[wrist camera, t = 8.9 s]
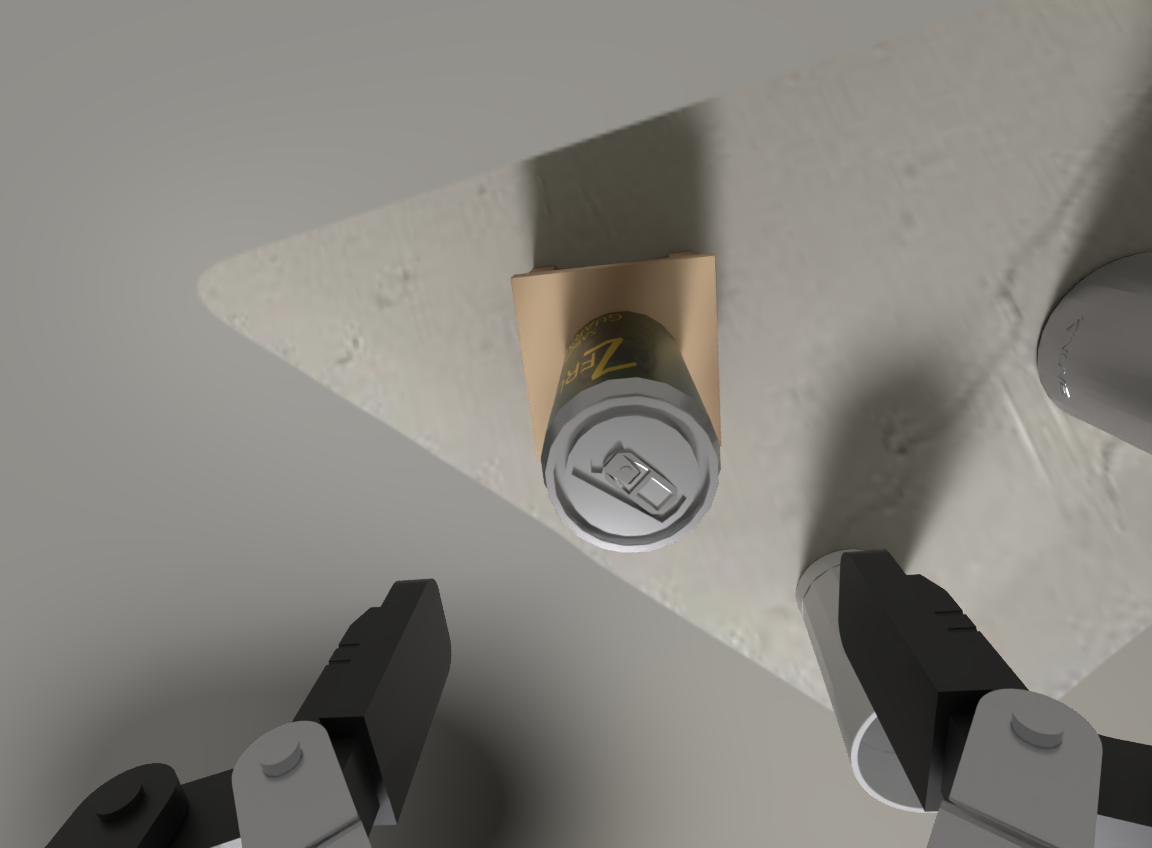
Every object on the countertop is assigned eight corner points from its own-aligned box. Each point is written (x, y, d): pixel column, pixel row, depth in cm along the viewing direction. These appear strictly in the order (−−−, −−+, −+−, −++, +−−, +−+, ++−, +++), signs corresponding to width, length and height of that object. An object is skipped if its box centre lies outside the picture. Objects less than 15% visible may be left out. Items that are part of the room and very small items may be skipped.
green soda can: (704, 357, 28) (768, 467, 17) (629, 440, 30) (641, 590, 19) (614, 283, 27) (619, 347, 16) (541, 373, 29) (499, 489, 18)
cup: (785, 539, 38) (859, 684, 27) (918, 535, 38) (1049, 681, 27) (780, 643, 41) (844, 813, 30) (903, 641, 41) (1016, 813, 29)
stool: (696, 244, 32) (714, 255, 27) (703, 405, 36) (721, 446, 30) (526, 263, 33) (510, 278, 28) (548, 419, 36) (537, 461, 31)
